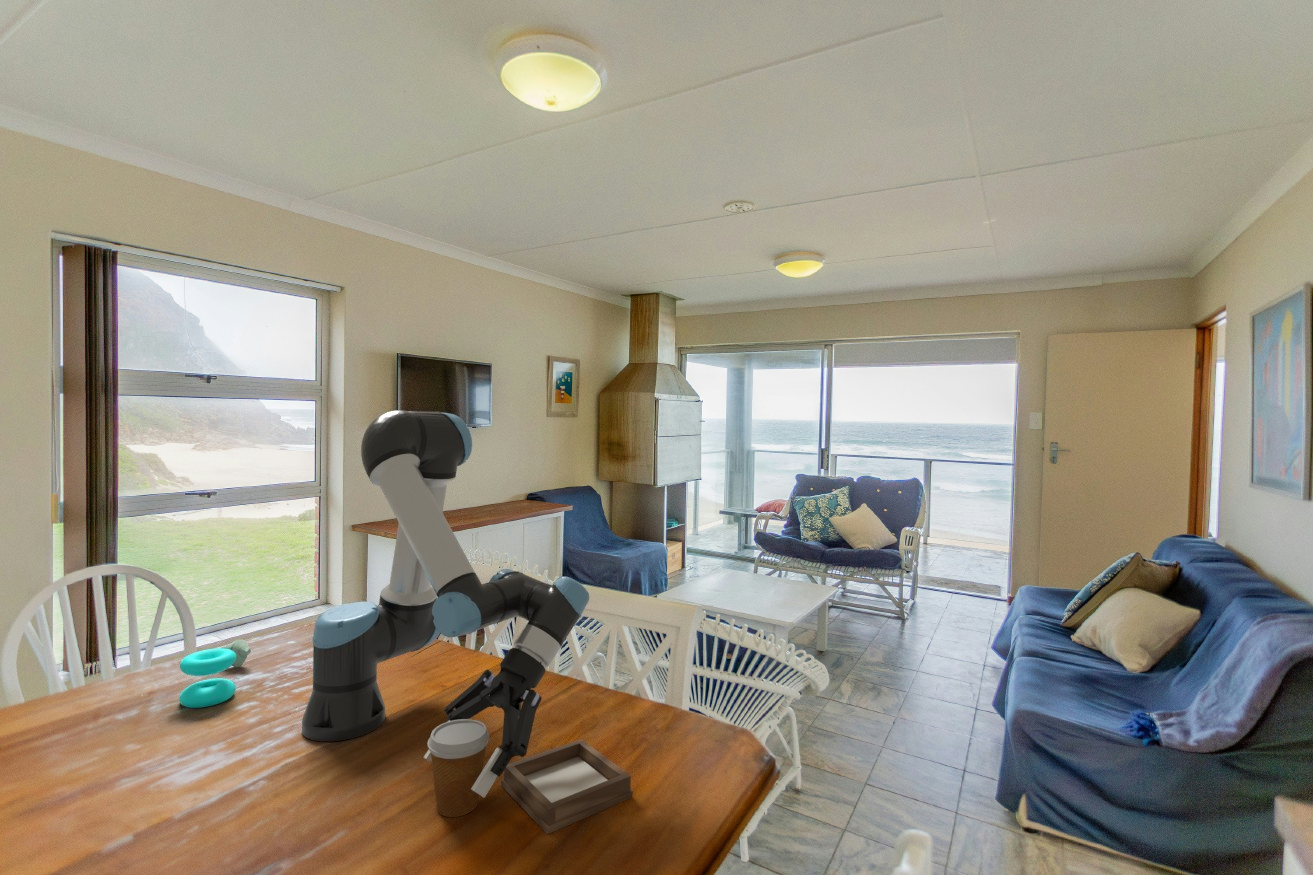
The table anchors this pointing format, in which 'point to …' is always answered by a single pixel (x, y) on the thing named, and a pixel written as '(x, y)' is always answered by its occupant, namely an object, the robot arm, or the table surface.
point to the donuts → (208, 689)
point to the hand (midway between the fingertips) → (452, 776)
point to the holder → (566, 784)
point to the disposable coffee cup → (457, 764)
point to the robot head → (239, 651)
